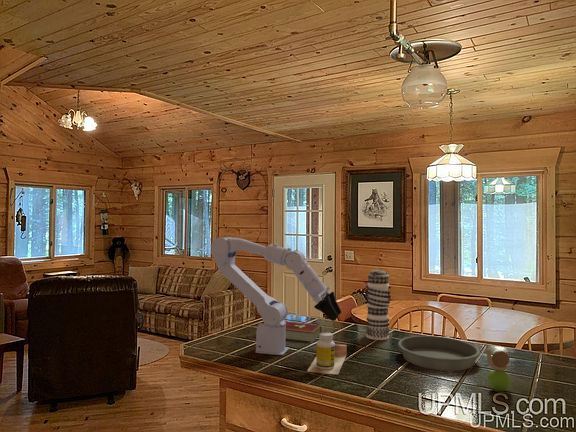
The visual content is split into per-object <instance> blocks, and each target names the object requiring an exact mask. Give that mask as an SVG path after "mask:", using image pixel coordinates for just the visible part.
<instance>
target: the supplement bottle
mask: <svg viewBox="0 0 576 432" xmlns="http://www.w3.org/2000/svg"><path fill="white" fill-rule="evenodd" d="M318 337H319V338H318V340H317V342H316V356H315V358H316V366H317V367H318V368H320V369H326V370H328V369H333V368H334V361H335V344H336V343H335V342H334V340H333V338H334V334H333V333H331V332H327V331H326V332H325V331H324V332H323V331H322V333H320V334H319V336H318Z"/></svg>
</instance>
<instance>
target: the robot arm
mask: <svg viewBox="0 0 576 432" xmlns="http://www.w3.org/2000/svg"><path fill="white" fill-rule="evenodd" d="M210 245H211V247H210V255H211V256H212V257H213V258H214V261H215V263H216V266H217V270H218V271H219V273H221V275H223V276H224V278H225V279H227V280H228V281H229V282H230V283H231V284H232V285H233V286H234V287H235V288H236V289H237V290H239V291H240V293H242V294H243V296H245V297H246V299H248V300H249V302H251V303H253V305H255V307H256V310H257V311H256V312H257V313H258V314H259V315H260V316H261V319H262V321H263V323H258V325H257V327H256V333H255V337H256V339H255V351H254V352H255V353H257V354H266V355H275V356H284V355H285V354H286V352H287V351H288V350H289V349H290V347H288V346H286V322H287V321H286V320H285V319H286V318H287V317H288V313H289V310H288V306H287V305H286V304H285V303H284V302H281V301H278V300H277V299H275V298H274V297H272V296H270V295H268V294H267V293H266V292H264V290H262V288H260V287H259V285H257V284H256V283H255V282H254V281H253V280H252V279H251V278H249V277H248V276H247V274H245V273H244V272H243V271H242V270H241V269H240V268H239V267H238V266H237V265H236V256H237V253H238V252H240V251H244V252H248V253H251V254H255V255H259V256H262V257H264V259H265V261H266V262H270V263H273V264H276V265H281V266H285V268H287V269H288V270H291V271H292V272H293V274H294V275H295V277H296V278H297V279H298V281H299V282H300V284H301V285H302V286H303V288H304V289H305V290H306V292H307V293H308V294H309V296H310V297H311V298H312V301H313V302H315V305H314V306H313V307H314V309H316V310H317V311H320V312H321V313H323V314H324V315H325V316H326V317H327V318H328V319H329V320H331V321H332V322H334V321H335V320H337V319H338V318H339V315H341V314H342V310H341V308H340V306H339V304H338V301H337V298H336V295H335V291H332V292H329V290H330V289H331V288H332V287H331V286H330V285H329V286H328V287H327V286H326V284H324V282H323V280H321V278H320V276H318V274H317V273H316V272H315V270H314V269H313V268H312V266H311V265H310V264H309V262H308V261H307V260H306V256H305V253H303V252H302V251H299V250H298V249H295V250H293V251H292V248H290V247H288V248H286V247H282V246H279V244H278V243H273V244H272V243H270V244H269V245H267V246H265V245H262V244H259V243H256V242H253V241H251V240H247V239H244V238H240V237H234V236H227V237H216V238H215V239H213V241H212V243H211V244H210Z"/></svg>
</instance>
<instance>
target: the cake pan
mask: <svg viewBox="0 0 576 432" xmlns="http://www.w3.org/2000/svg"><path fill="white" fill-rule="evenodd" d="M397 345H398V347H399V348H400V349H401V351H402V356H403V358H404V359H405V361H406V362H408V361H409V363H410V362H411V363H410V364H412V365H415V366H417V367H421V368H425V369H430V370H436V371H437V370H438V371H447V372H449V371H451V372H453V371H465V370H468V369H470V368H473V366H474V365H475V362H476V357H478V356H479V355H480V354H481V351H480V349H479V348H478V347H477V346H475V345H473V344H471V343H469V342H467V341H464V340H460V339H455V338H452V337H451V338H450V337H445V336H436V335H415V336H407V337H404V338H401V339H400V340H399V341H398V343H397Z"/></svg>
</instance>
